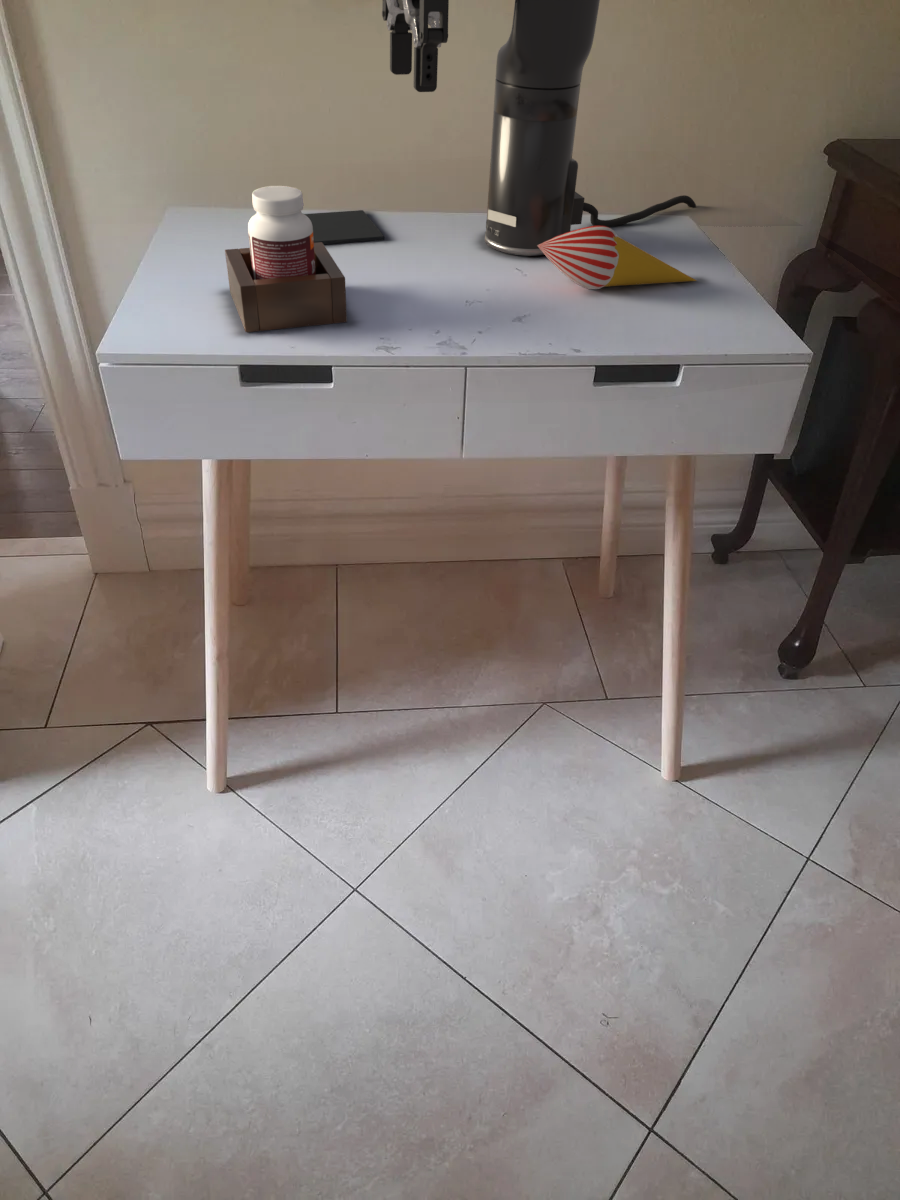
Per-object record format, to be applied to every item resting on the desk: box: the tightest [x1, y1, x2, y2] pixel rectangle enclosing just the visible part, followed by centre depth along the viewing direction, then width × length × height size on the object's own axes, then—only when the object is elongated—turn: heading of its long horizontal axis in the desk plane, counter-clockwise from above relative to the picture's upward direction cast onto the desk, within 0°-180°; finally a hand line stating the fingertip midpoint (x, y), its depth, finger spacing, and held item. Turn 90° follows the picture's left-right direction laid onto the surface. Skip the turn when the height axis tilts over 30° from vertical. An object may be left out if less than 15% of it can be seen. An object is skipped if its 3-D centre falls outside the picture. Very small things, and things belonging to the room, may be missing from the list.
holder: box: [224, 242, 348, 333], centre depth 89 cm, size 10×10×4 cm
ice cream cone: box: [537, 225, 698, 290], centre depth 96 cm, size 6×6×20 cm
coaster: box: [304, 209, 385, 245], centre depth 108 cm, size 10×10×1 cm
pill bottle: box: [247, 185, 316, 280], centre depth 86 cm, size 6×6×11 cm
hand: (412, 82), depth 91 cm, fingers open, 8 cm apart
